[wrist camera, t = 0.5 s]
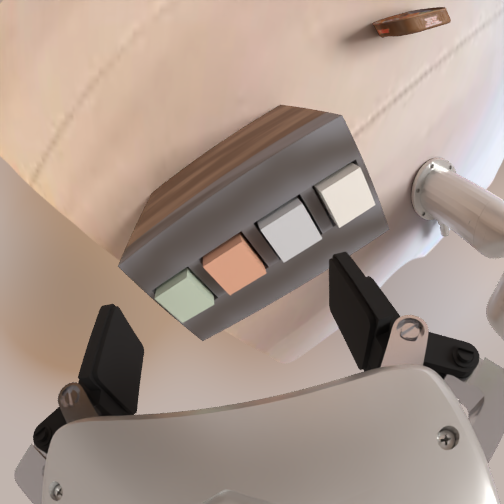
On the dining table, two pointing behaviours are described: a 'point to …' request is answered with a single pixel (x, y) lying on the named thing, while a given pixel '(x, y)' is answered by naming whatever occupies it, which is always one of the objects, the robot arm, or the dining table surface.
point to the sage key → (184, 295)
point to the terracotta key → (234, 264)
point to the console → (250, 211)
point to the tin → (412, 22)
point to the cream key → (345, 194)
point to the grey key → (289, 229)
